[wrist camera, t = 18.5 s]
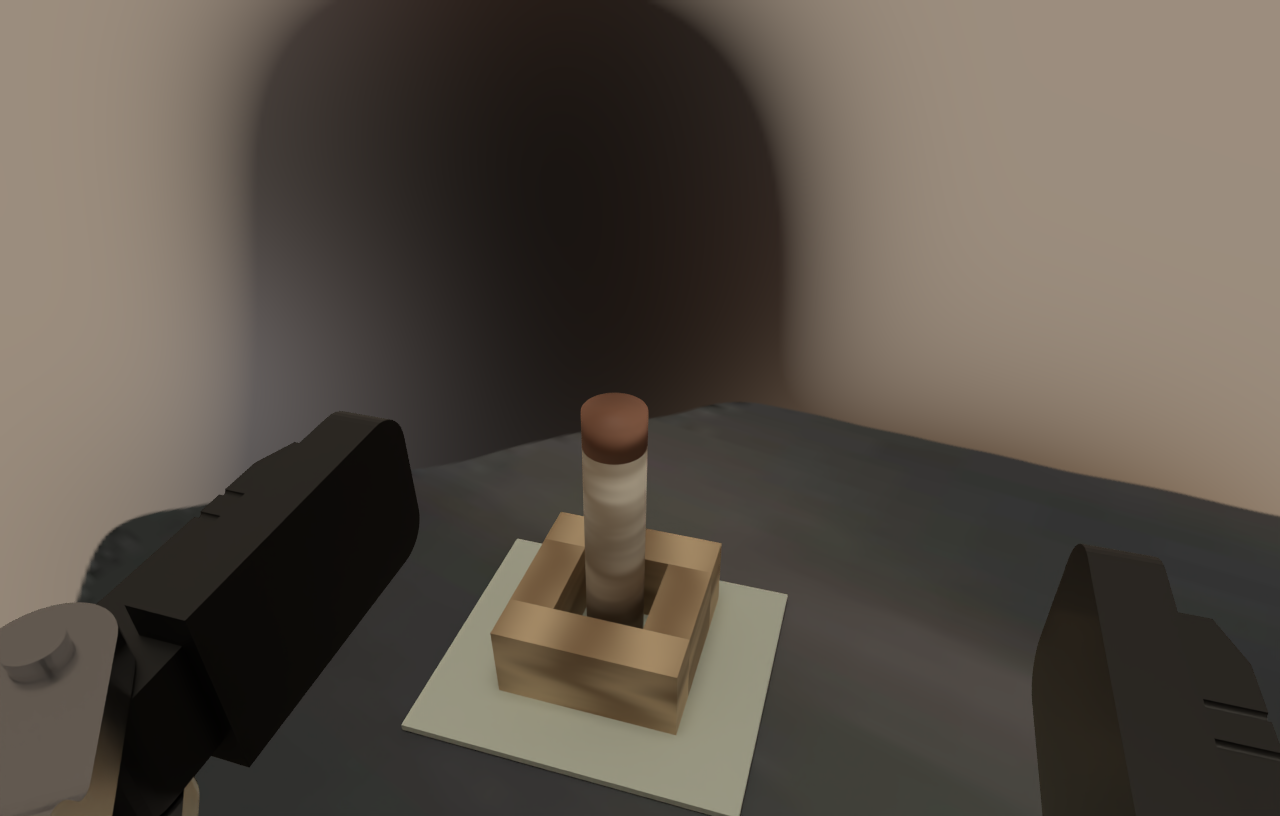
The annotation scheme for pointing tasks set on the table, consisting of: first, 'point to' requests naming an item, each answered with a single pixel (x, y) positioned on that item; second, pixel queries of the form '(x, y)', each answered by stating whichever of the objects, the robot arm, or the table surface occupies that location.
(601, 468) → the peg
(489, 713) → the mat
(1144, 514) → the table surface
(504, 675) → the wooden square frame
